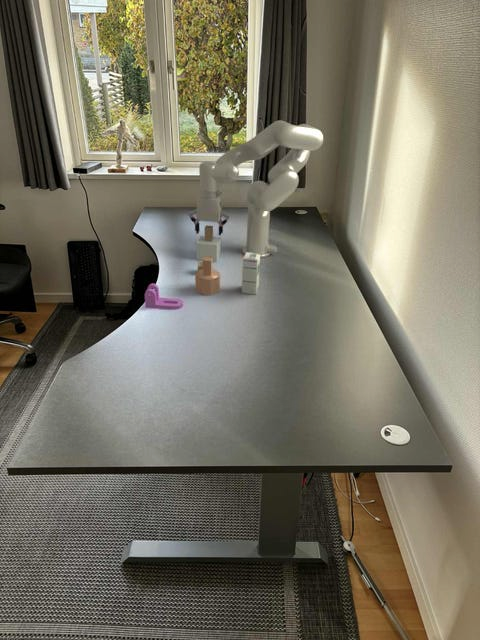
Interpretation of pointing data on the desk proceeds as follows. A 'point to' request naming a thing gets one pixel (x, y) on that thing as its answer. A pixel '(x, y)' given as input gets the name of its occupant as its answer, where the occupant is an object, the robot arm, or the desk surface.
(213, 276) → the wooden octagon with knob
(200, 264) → the beech cube
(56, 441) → the desk surface
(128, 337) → the desk surface
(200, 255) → the white block
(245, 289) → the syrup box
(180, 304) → the bracket
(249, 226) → the robot arm
